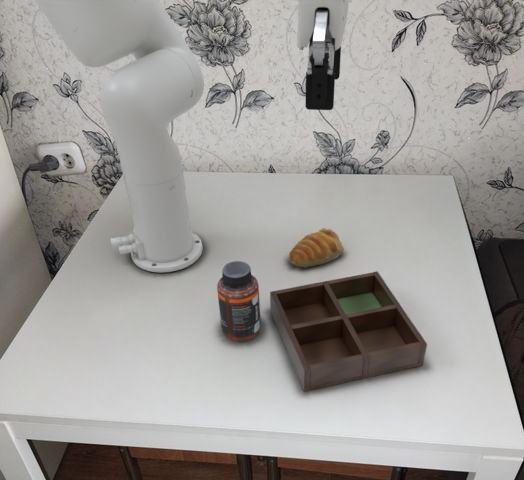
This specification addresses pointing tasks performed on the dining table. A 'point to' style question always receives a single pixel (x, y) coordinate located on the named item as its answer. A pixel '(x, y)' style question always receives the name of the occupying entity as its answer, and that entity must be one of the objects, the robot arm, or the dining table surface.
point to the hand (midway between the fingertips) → (323, 92)
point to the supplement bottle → (239, 302)
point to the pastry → (316, 249)
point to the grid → (345, 330)
